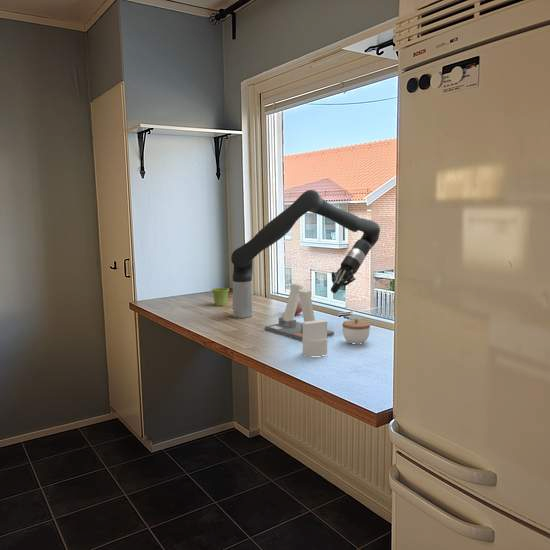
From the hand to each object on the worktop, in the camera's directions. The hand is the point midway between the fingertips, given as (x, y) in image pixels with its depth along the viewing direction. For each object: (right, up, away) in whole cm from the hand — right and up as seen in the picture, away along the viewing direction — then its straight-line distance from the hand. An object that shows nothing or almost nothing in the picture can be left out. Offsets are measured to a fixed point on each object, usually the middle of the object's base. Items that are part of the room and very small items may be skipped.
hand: (332, 291), depth 223 cm
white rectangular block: (-10, -22, -30) cm, 38 cm away
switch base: (-14, -17, +1) cm, 22 cm away
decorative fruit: (-14, -12, +35) cm, 40 cm away
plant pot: (-53, -9, +58) cm, 79 cm away
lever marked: (-10, -15, -6) cm, 19 cm away
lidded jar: (+7, -20, -15) cm, 26 cm away
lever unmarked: (-19, -13, +6) cm, 24 cm away
